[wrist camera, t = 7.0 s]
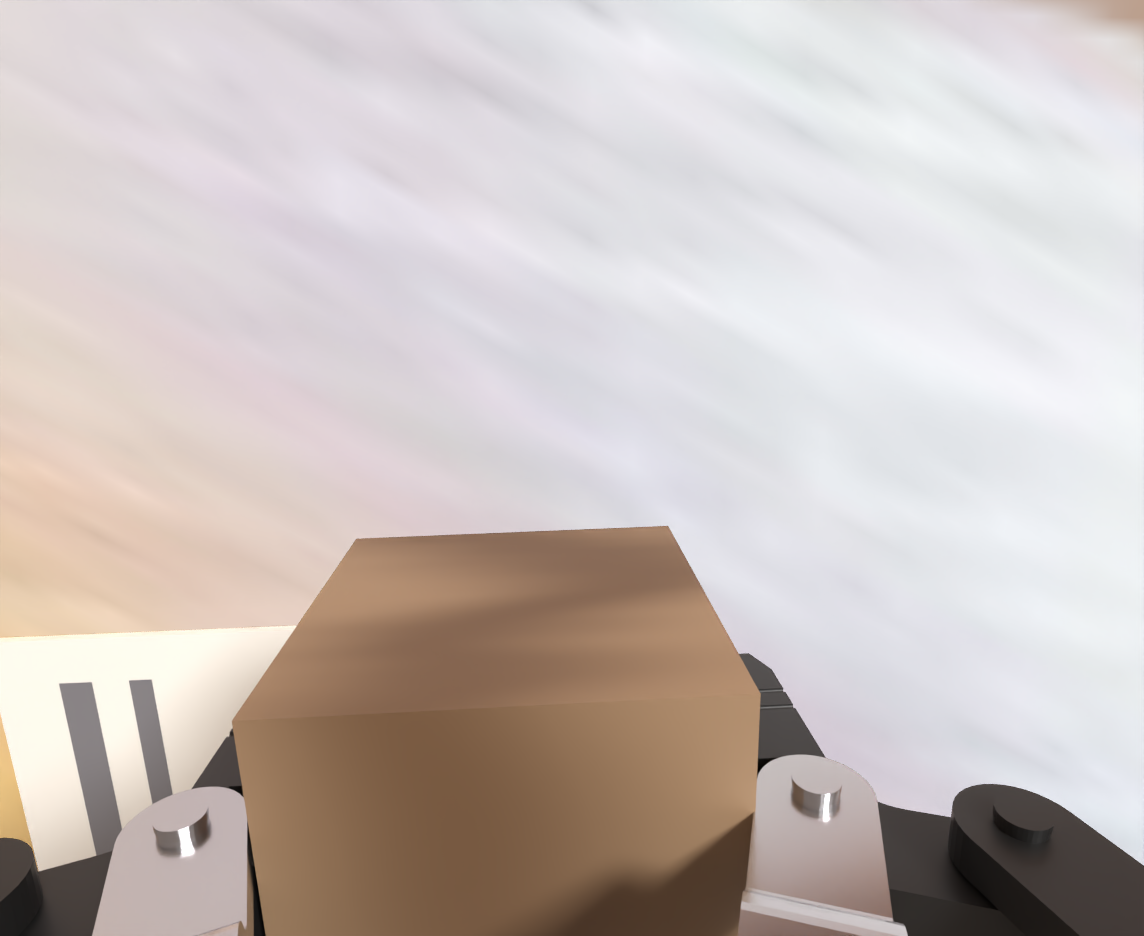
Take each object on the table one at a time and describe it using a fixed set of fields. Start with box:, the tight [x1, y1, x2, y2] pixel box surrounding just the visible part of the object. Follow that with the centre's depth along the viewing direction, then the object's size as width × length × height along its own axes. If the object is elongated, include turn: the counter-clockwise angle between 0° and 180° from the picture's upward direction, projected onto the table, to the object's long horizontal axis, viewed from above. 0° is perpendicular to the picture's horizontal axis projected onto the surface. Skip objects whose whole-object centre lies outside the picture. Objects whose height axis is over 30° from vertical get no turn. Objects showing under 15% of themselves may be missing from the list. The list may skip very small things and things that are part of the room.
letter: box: [0, 626, 296, 871], centre depth 25 cm, size 16×12×1 cm
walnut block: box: [232, 526, 761, 936], centre depth 10 cm, size 5×5×5 cm
